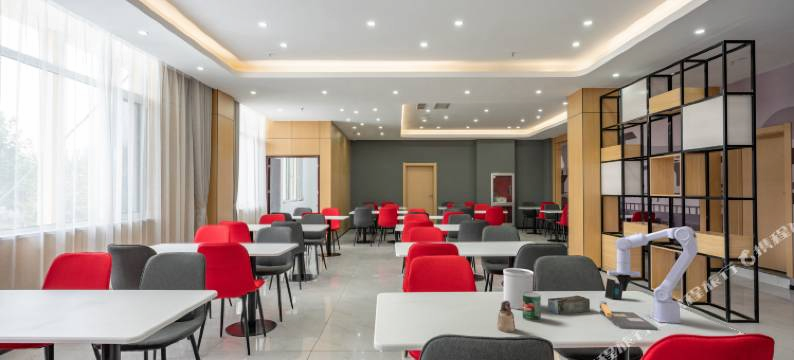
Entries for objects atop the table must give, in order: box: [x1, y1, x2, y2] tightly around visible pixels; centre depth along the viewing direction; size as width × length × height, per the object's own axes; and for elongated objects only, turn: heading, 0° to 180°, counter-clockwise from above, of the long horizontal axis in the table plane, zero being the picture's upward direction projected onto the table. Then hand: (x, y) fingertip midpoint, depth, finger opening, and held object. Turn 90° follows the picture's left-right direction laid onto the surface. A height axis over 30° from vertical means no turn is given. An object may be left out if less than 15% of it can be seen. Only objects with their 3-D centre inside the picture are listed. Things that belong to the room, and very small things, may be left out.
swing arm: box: [599, 301, 612, 317], centre depth 186 cm, size 18×3×3 cm, turn 162°
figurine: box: [497, 300, 516, 333], centre depth 169 cm, size 7×7×12 cm
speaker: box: [604, 278, 624, 301], centre depth 220 cm, size 8×6×10 cm
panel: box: [599, 307, 658, 331], centre depth 183 cm, size 15×21×2 cm
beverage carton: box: [547, 294, 591, 315], centre depth 197 cm, size 8×19×7 cm, turn 108°
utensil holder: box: [502, 267, 535, 310], centre depth 204 cm, size 15×15×18 cm
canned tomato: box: [522, 292, 542, 322], centre depth 184 cm, size 8×8×11 cm
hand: (623, 290), depth 196 cm, fingers closed
